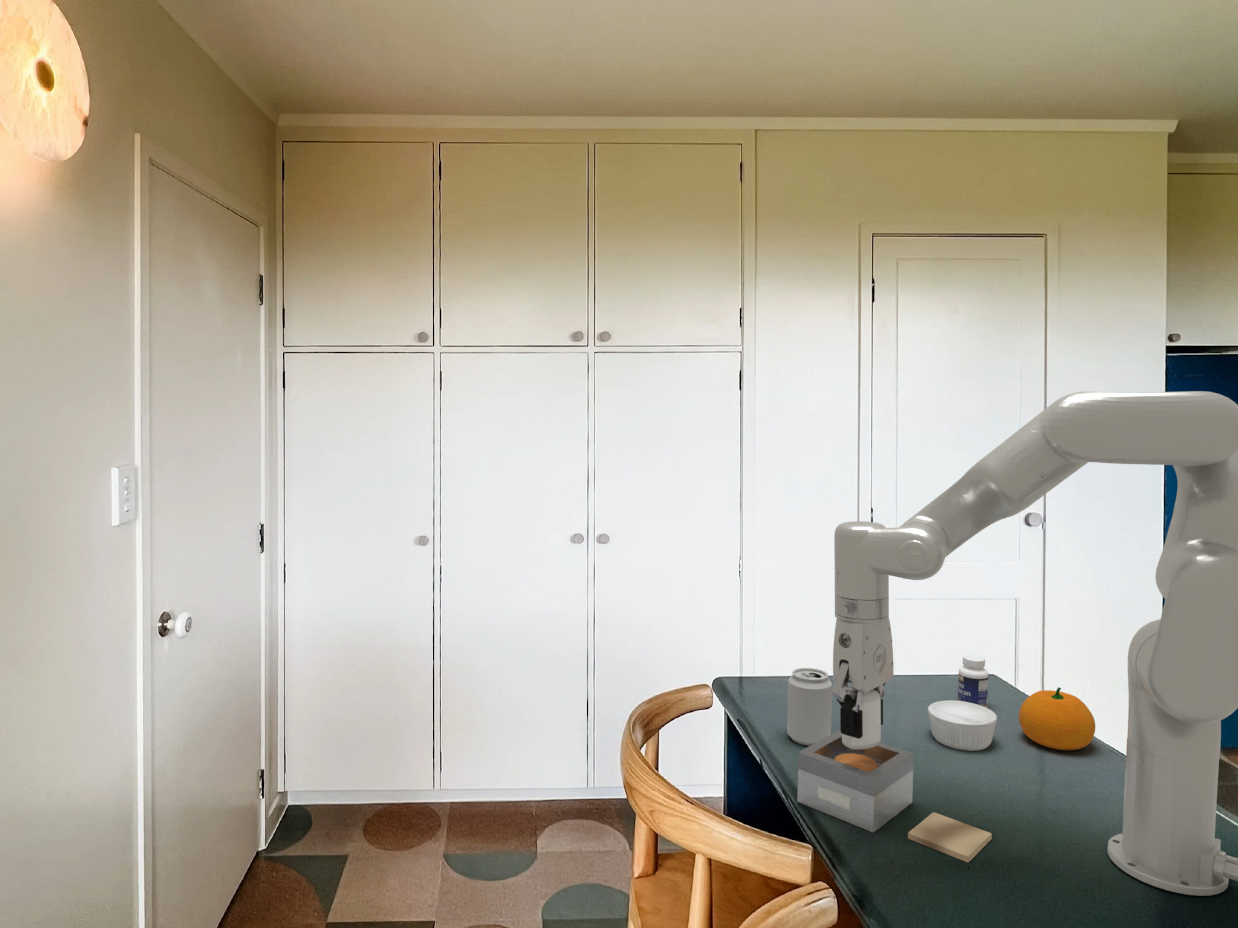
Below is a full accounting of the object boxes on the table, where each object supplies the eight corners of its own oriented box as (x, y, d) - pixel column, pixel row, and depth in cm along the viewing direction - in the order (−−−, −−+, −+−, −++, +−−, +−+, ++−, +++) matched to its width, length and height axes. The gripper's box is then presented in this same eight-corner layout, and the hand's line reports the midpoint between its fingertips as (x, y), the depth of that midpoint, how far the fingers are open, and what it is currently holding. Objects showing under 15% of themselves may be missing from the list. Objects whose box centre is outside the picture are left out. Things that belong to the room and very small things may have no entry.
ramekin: (931, 750, 135) (932, 720, 134) (923, 725, 145) (923, 697, 145) (1002, 757, 132) (1004, 726, 132) (988, 731, 143) (989, 703, 142)
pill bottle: (951, 703, 156) (952, 655, 155) (969, 699, 158) (971, 651, 158) (974, 713, 151) (976, 663, 151) (993, 708, 154) (995, 659, 153)
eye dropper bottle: (883, 751, 113) (883, 669, 112) (843, 750, 114) (842, 668, 113) (879, 739, 117) (878, 660, 116) (840, 737, 118) (839, 659, 117)
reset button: (883, 798, 116) (884, 762, 116) (863, 813, 112) (864, 775, 111) (846, 784, 120) (847, 749, 120) (826, 798, 116) (827, 762, 116)
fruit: (1103, 743, 138) (1105, 687, 137) (1082, 763, 130) (1085, 704, 129) (1031, 724, 146) (1033, 671, 145) (1007, 742, 138) (1010, 686, 137)
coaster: (991, 839, 106) (991, 833, 106) (968, 862, 101) (968, 856, 100) (933, 817, 112) (933, 811, 112) (907, 838, 106) (908, 832, 106)
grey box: (912, 802, 116) (913, 753, 116) (872, 833, 107) (873, 780, 107) (838, 775, 125) (840, 729, 124) (796, 802, 116) (797, 752, 115)
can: (839, 744, 137) (841, 676, 136) (803, 750, 134) (804, 681, 133) (813, 728, 144) (815, 663, 143) (778, 733, 141) (780, 668, 140)
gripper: (855, 622, 105) (856, 755, 106) (912, 600, 117) (912, 719, 118) (807, 614, 111) (808, 740, 112) (866, 593, 123) (866, 707, 124)
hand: (861, 728), depth 115 cm, fingers closed on eye dropper bottle, 5 cm apart
